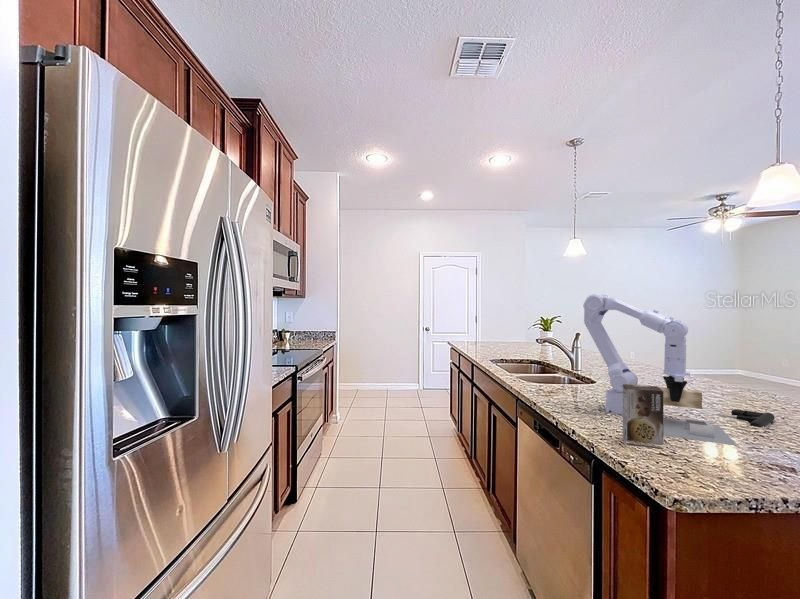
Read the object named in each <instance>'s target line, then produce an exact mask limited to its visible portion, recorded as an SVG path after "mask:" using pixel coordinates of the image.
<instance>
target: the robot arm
mask: <svg viewBox="0 0 800 599" xmlns="http://www.w3.org/2000/svg"><path fill="white" fill-rule="evenodd" d="M582 305H583V306H582V307H583V309H584V311H583V312H584V313H583V315H584V316H583V323H584V325H585V327H586V329H587V331H588V333H589V334H590V337H591V338H592V340H593V341H594V344H595V346H596V348H597V349H598V351H599V353H600V355H601V357H602V359H603V361H604V362H605V365H606V367H607V375H608V376H609V379H610V380H609V384H610V386H611V387H612V388H611V389H606V390H605V405H604V411H605V413H608V414H615V415H621V416H623V384H628V385H638V382H639V379H638V375H636V374H635V373H634V372H633V371H632V370H631V369H630V367H629V365H627V364H626V363H625V362H624V361H623V359H622V357H621V356H620V354H619V353H618V350H617V349H616V347H615V345H614V343H613V341H612V340H611V338H610V335H609V334H608V332H607V331H606V329H605V327H604V325H603V324H602V321H603V319H604V316H605V314H607V313H608V312H609V311H612V310H613V311H618V312H620V313H623V314H625V315H627V316H630V317H632V318H635V319H637V320H639V322H640V324H641V326H644V327H646V328H648V329H651V330H653V331H655V332H656V333H657V332H658V333H659V334H663V336H664V339H665V340H664V362H663V363H664V364H663V366H664V369H663V371H662V372H663V374H665V376H664V375H663V376H662V378H663V380H664V382H665V385H666V388H669V392H670V398H671V401H674V402H679V401H680V398H681V395H682V391H683V390H685V387H686V385H687V384H688V381H686V380H685V378H684V377H686V376H691V373H690V372H689V371H687V370H686V368H687V344H686V342H687V339H686V338H687V337H686V336H687V335H688V332H689V327H688V326H687V324H686V323H684V322H683V321H682V320H674V318H675V317H673V316H666V315H664V314H661V313H660V312H659V310H657V309H653V310H652V309H647V310H642V309H640V308H638V307H636V306H634V305H631V303H630V304H629V303H627V302H625V301H623V300H621V299H619V298H616V297H613V296H608V295H606V294H595V293H594V294H593V293H592V294H590V295H588V296H587V297H586V298H585V301H584V303H583V304H582ZM666 375H667V376H666Z"/></svg>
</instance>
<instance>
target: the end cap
mask: <svg viewBox="0 0 800 599" xmlns="http://www.w3.org/2000/svg"><path fill="white" fill-rule="evenodd" d="M684 421H685V429H687V430H689V434H690V435H698V436H705V437H713V438H714V427H713V426H712V425H713V424H712V425H711V422H710V421H709V420H701V419H693V418H685V420H684Z"/></svg>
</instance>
